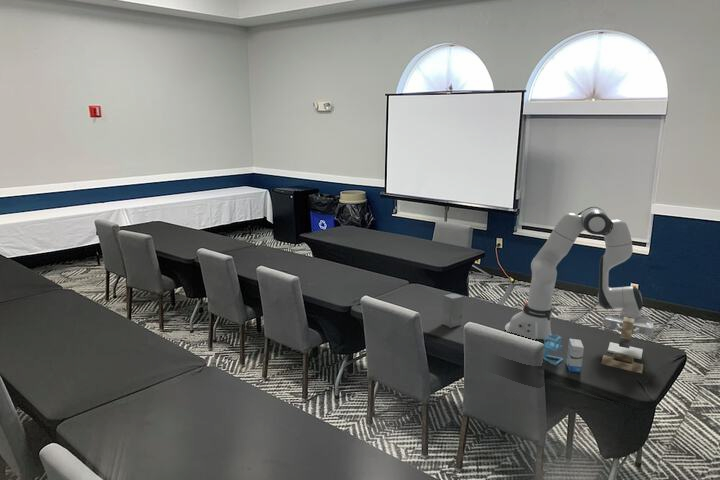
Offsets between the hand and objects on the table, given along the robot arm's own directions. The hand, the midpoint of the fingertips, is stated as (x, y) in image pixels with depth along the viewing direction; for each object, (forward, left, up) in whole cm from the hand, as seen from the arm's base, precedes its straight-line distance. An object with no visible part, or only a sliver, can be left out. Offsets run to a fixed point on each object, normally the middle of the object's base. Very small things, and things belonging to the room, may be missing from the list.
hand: (626, 331), depth 227 cm
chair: (-28, -12, -17) cm, 35 cm away
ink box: (-18, -14, -17) cm, 28 cm away
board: (0, +16, -16) cm, 23 cm away
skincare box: (-80, +1, -17) cm, 82 cm away
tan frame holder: (0, +1, -16) cm, 16 cm away
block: (0, +1, -7) cm, 7 cm away
